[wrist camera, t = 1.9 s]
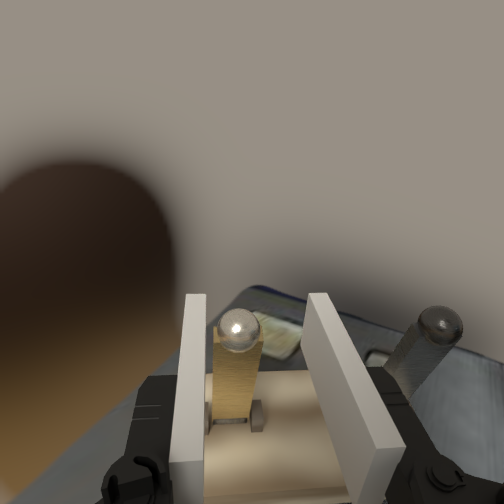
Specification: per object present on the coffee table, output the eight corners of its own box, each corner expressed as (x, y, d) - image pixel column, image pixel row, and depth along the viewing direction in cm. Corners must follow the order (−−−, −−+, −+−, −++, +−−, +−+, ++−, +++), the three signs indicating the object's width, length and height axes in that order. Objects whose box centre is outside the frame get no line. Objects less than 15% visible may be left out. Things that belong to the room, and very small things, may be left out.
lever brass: (248, 433, 31) (268, 335, 21) (211, 435, 31) (214, 337, 20) (245, 401, 33) (263, 299, 23) (211, 403, 33) (214, 299, 22)
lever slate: (397, 424, 33) (482, 330, 23) (364, 426, 32) (436, 331, 22) (386, 395, 35) (460, 297, 25) (355, 396, 34) (417, 297, 24)
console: (442, 494, 30) (459, 464, 28) (180, 516, 27) (178, 484, 25) (381, 382, 40) (391, 355, 38) (188, 391, 38) (188, 361, 36)
